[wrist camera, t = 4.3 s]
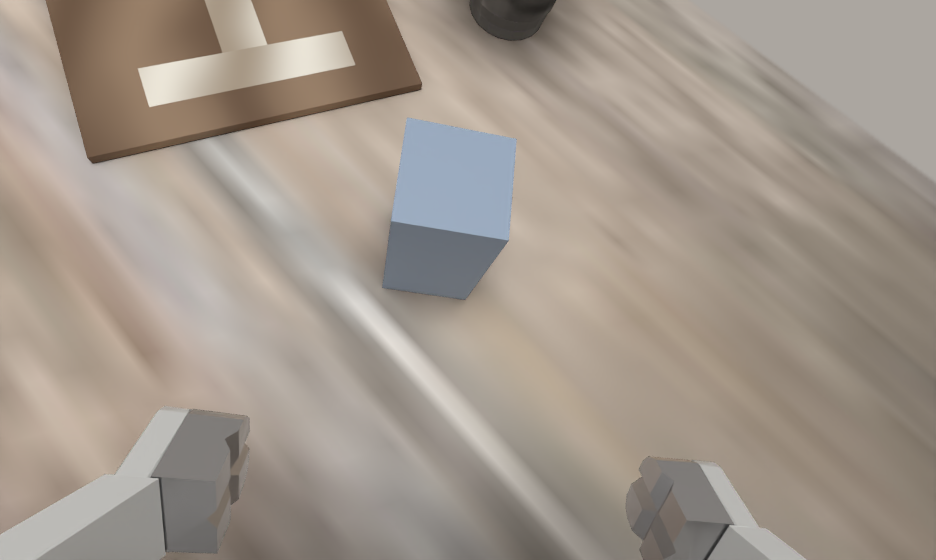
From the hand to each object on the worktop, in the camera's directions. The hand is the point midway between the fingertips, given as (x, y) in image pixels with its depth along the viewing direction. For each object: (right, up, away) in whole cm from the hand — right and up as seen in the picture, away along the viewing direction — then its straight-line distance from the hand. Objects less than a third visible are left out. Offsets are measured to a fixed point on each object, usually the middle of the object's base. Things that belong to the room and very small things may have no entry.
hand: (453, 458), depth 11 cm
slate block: (-2, +5, +15) cm, 16 cm away
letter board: (-12, +18, +17) cm, 27 cm away
